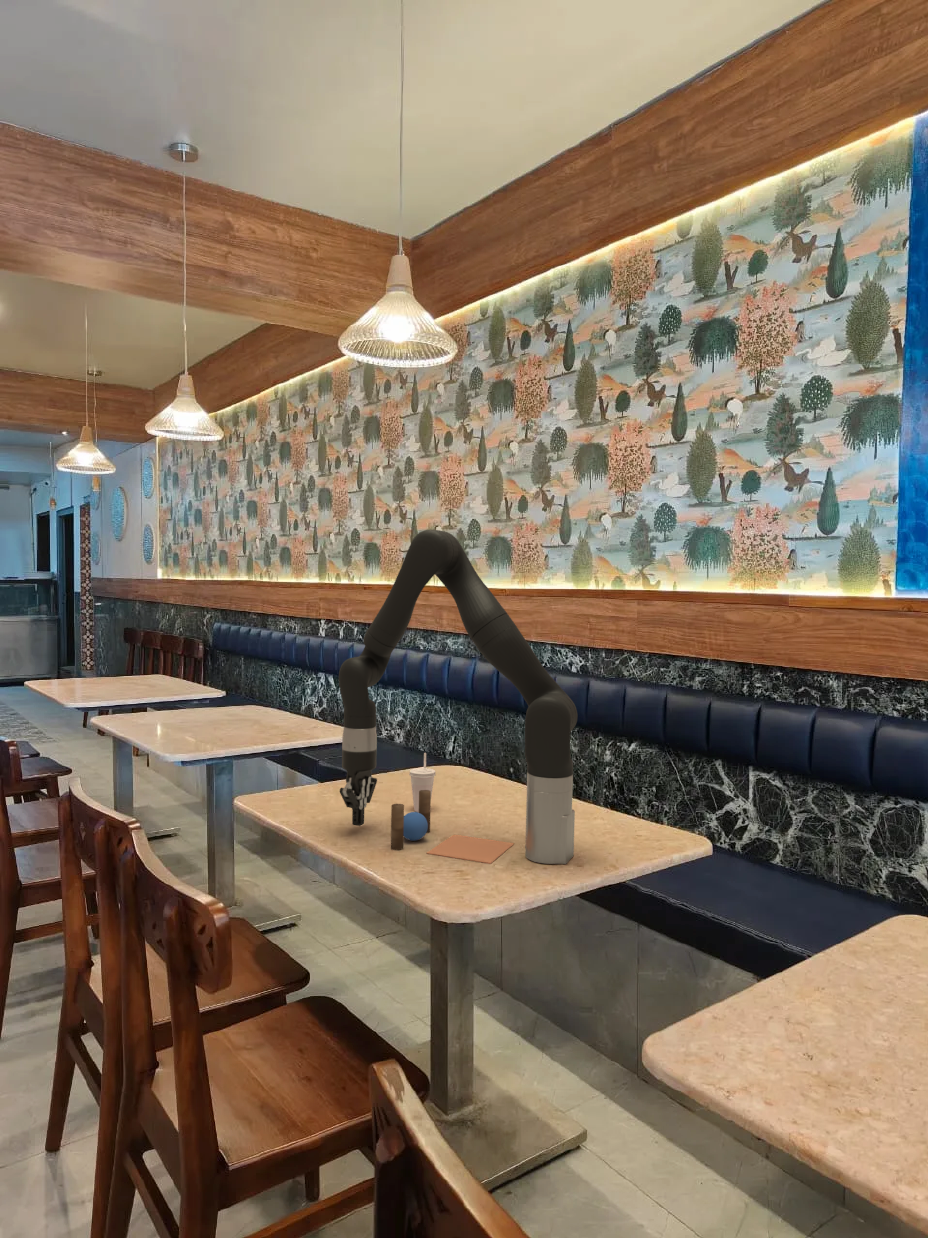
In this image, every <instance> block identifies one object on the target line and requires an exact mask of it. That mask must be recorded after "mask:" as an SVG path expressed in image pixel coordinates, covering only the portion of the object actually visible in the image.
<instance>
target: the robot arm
mask: <svg viewBox="0 0 928 1238" xmlns="http://www.w3.org/2000/svg"><path fill="white" fill-rule="evenodd" d="M434 576H436V577H437V579H439V580H440V582H441V583H442V584H443V586H444V587H445V588H446V590H447V592H448V591H449V593H450V595H451V596H452V598H453V600H454V602H455V604H456V608H457V610H458V613H459V615H460V619H461V622H462V624H463V626H464V628H465V631H466V633H467V635H468V636H469V638H470V639H471V641H472V642H473V644H474V645H475V646H476V648H477V649H478V651H479V652H480V653H481V655H482V656H483V657H484V658H485V659H486V661H487V662H488V663H489V664H490V665H491V666H492V667H494V669H496V670H497V671H498V672H499V673H500V674H502V676H504V677H505V678H506V679H507V680H508V681H509V682H511V683H512V684H513V686H515V688H516V689H517V690H518V692H519V693H520V696H522V698H523V699H524V701H525V703H526V704H527V706H528V707H527V710H526V712H525V713H526V714H525V718H524V719H525V721H524V757H525V761H526V767H527V769H526V770H527V771H526V803H525V804H526V805H525V806H526V809H525V812H526V813H525V814H526V815H525V845H524V849H525V851H524V852H525V853H524V855H525V858H526V859H527V860H530V862H535V863H539V864H545V865H546V864H548V865H549V864H550V865H551V864H552V865H554V864H555V865H558V864H559V865H561V864H562V865H566V864H567V863H568V862H570V860H571V859H572V858H573V857H574V852H575V851H574V849H575V847H574V846H575V818H576V817H575V816H576V815H575V814H576V812H575V809H573V785H574V783H573V782H574V761H573V759H572V756H571V732H572V731H573V730H574V729H575V727H576V725H577V724H578V723H577V722H578V710H577V707H576V705H575V702H574V701H573V700H572V699H571V698H570V696H569V695H568V694H567V693H566V692H565V690H564V689H563V688H562V687H561V686H560V685H559V684H558V683H557V682H556V680H555V679H554V678H553V677H552V676H551V675H550V673H549V672H548V671H547V670H546V669H545V667H544V666H543V664H542V663H541V661H540V660H539V657H537V655H536V654H535V652H534V650H533V649H532V646H531V645H530V644H529V643H528V642H527V640H526V639H525V637H524V635H523V634H522V632H521V631H520V629H519V628H518V626H517V625H516V623H515V621H513V619H512V618H511V616H510V615H509V614H508V612H507V611H506V610H505V609H504V607H503V606H502V604H501V603H500V602H499V601H498V599H497V598H496V596H495V595H494V593H493V592H492V591H491V590H490V589H489V588H488V586H487V585H486V584H485V582H484V581H483V580H482V578H481V577H480V575H478V573H477V572H476V570H475V568H474V566H473V563H471V560H470V559H469V557H468V556H467V554H466V552H465V550H464V549H463V546H462V545H461V542H460V541H459V539H457V537H456V536H454V535H453V534H452V533H449V532H448V531H445V530H438V529H431V528H430V529H425V530H422V531H419V533H417V534H416V535H415V536H414V537H413V539H412V541H411V542H410V545H409V547H408V549H407V551H406V554H405V556H404V559H403V561H402V564H401V567H400V569H399V571H398V574H397V576H396V578H395V580H394V583H393V584H392V587H391V588H390V591H389V593H388V595H387V597H386V599H385V601H384V602H383V604H382V606H381V608H380V609H379V610H378V613H376V616H375V617H374V619H373V621H372V622H371V624H370V625H369V627H368V629H367V630H366V632H365V634H364V637H363V645H364V648H363V650H362V652H361V653H360V655H359V656H354V657H353V656H352V657H349V658H347V659H346V660H344V661H343V663H342V664H341V666H340V668H339V672H338V685H339V686H338V687H339V690H340V696H341V701H342V703H343V709H344V710H343V730H342V737H341V738H342V739H341V741H342V743H341V744H342V746H341V748H342V749H341V750H342V751H341V767H342V769H344V770H345V771H346V776H345V782H346V784H345V785H344V787H340V789H339V794H340V796H341V797H342V800H343V802H344V805H345V806H346V808H350V809H351V810H352V813H351V814H352V815H351V818H352V821H351V824H352V826H357V827H361V826H362V825H364V824H365V809H366V807H367V804H370V803H371V801H372V797H373V795H374V791H375V789H376V786H377V783H378V778H376V777H373V776H372V774H373V772H372V771H373V770H375V769H376V768H377V757H378V756H377V753H378V751H377V749H378V748H377V746H378V744H377V743H378V740H377V739H378V738H377V737H378V736H377V706H376V703H375V701H373V700H372V699H370V696H369V688H370V687H374V686H375V685H377V683H378V682H379V681H380V680H381V679H382V678H383V675H384V674H385V671H386V670H387V667H388V664H389V661H390V659H391V656H392V653H393V651H394V650H395V649H396V647H397V645H398V643H399V642H400V641H401V639H402V637H403V635H404V633H405V631H407V628H408V627H409V623H410V621H411V619H412V615H413V614H414V613H413V612H414V609H415V606H416V603H417V601H418V599H419V597H420V595H421V593H422V591H423V590H424V588H425V587H426V586H427V584H428V583H429V581H430V580H431V579H432V578H433V577H434Z"/></svg>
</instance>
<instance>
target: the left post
mask: <svg viewBox="0 0 928 1238" xmlns="http://www.w3.org/2000/svg"><path fill="white" fill-rule="evenodd" d="M390 807H391V809H390V813H391V815H390V817H391V818H390V820H391V821H390V849H391V850H392V851H401V850H404V816H405V804H402V803H392V804H391V806H390Z"/></svg>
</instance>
